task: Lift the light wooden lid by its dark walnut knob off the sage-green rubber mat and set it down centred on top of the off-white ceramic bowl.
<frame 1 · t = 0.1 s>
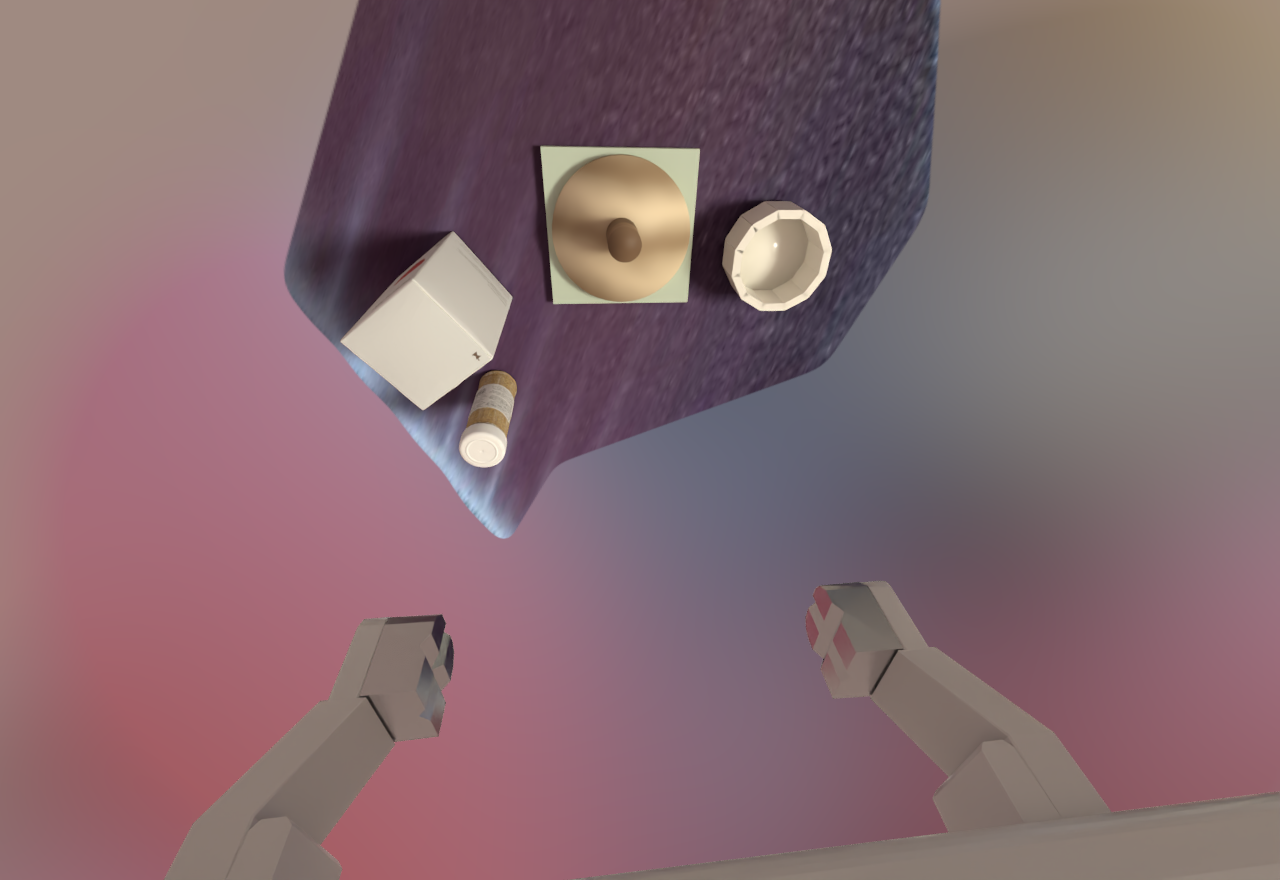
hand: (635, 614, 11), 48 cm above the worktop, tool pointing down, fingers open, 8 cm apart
sprinkles bottle: (498, 384, 61), on the worktop
supplement box: (454, 288, 53), on the worktop
bowl: (766, 249, 54), on the worktop
mat: (620, 230, 51), on the worktop
lid: (621, 232, 51), point 1 cm above the worktop, touching mat
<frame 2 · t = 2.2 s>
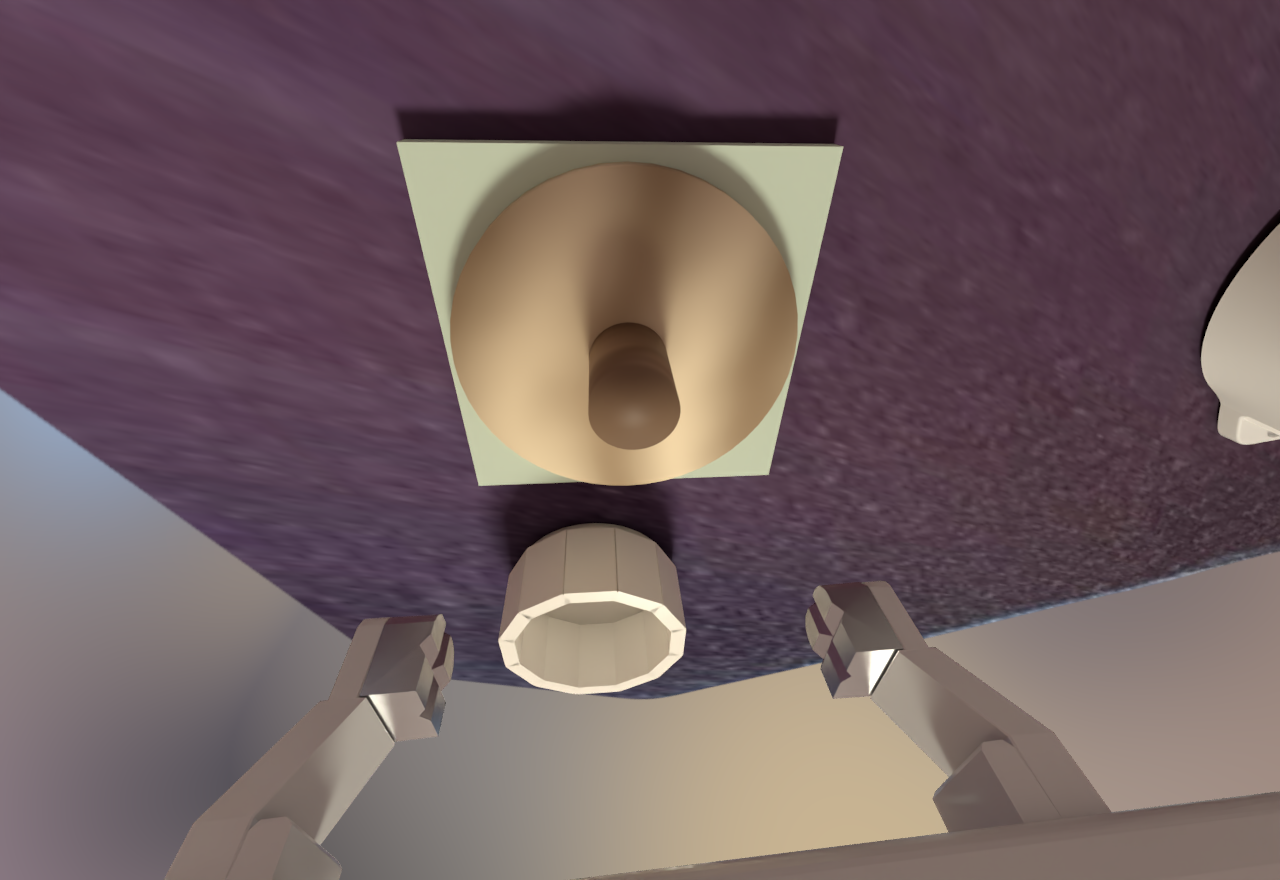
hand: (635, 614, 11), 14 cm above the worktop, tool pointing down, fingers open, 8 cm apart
bowl: (594, 574, 31), on the worktop
mat: (625, 339, 22), on the worktop
lid: (626, 348, 21), point 1 cm above the worktop, touching mat
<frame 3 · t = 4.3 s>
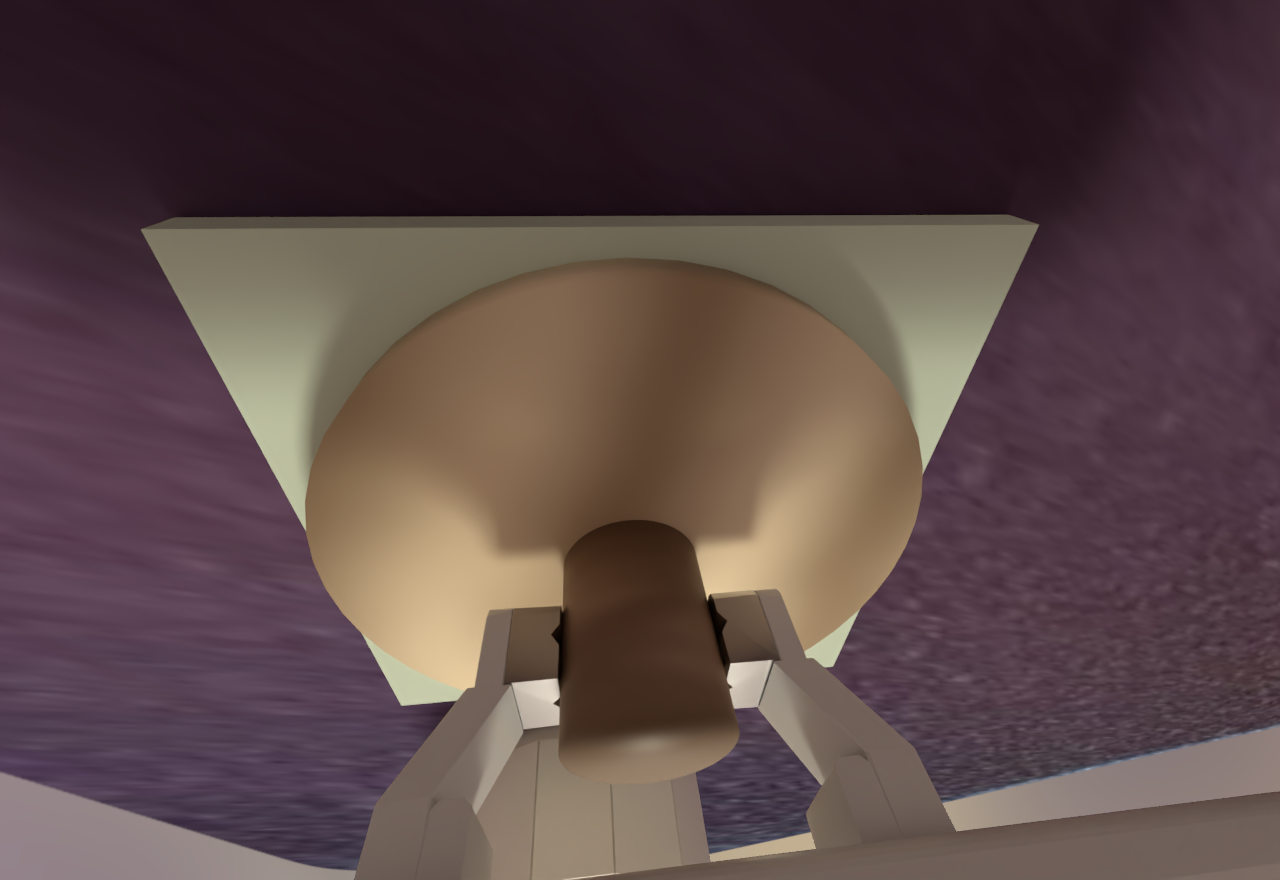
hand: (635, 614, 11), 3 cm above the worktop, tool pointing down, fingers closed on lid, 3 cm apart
bowl: (580, 766, 23), on the worktop
mat: (624, 513, 13), on the worktop
lid: (627, 536, 13), point 1 cm above the worktop, touching gripper, mat
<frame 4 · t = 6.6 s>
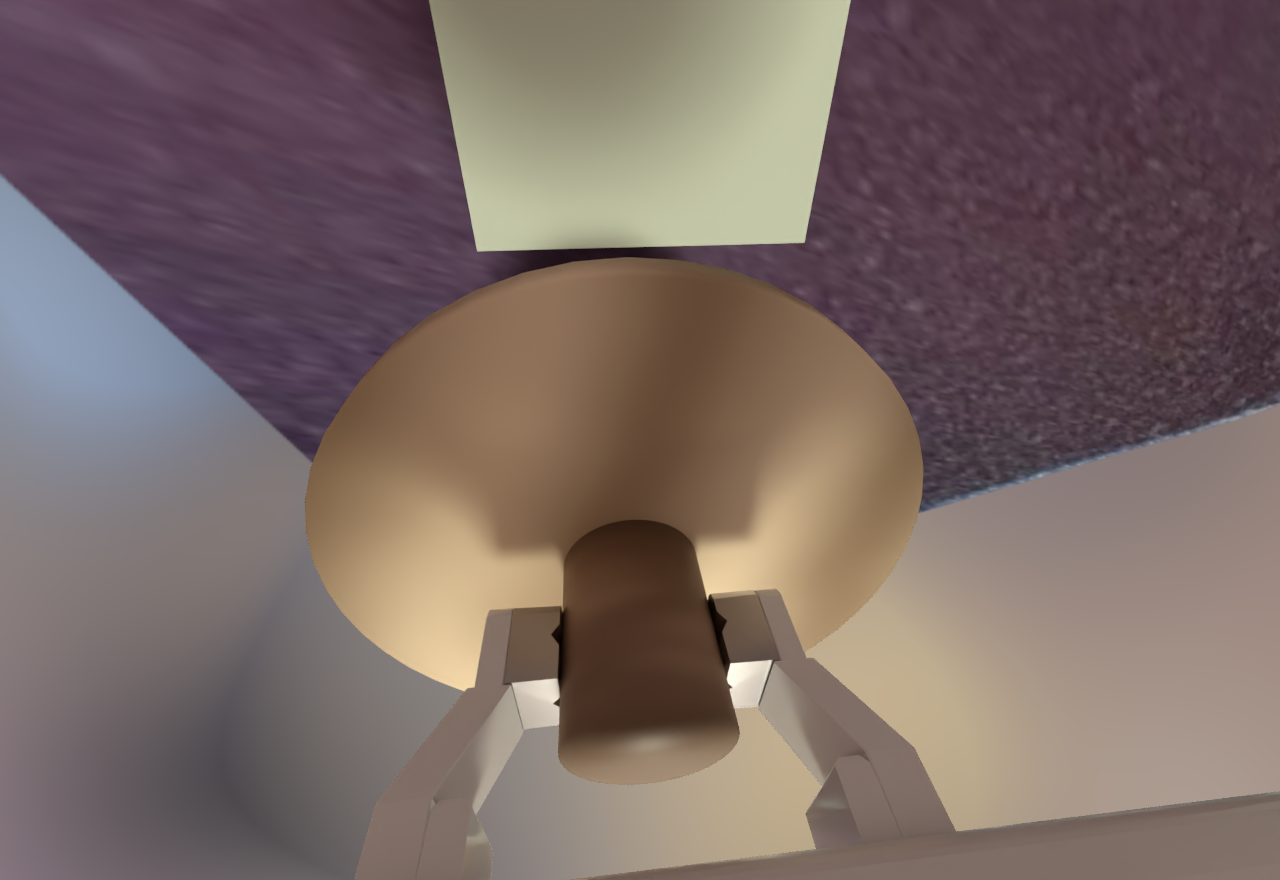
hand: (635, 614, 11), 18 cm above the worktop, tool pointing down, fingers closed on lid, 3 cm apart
mat: (643, 35, 19), on the worktop
lid: (627, 536, 13), point 15 cm above the worktop, touching gripper
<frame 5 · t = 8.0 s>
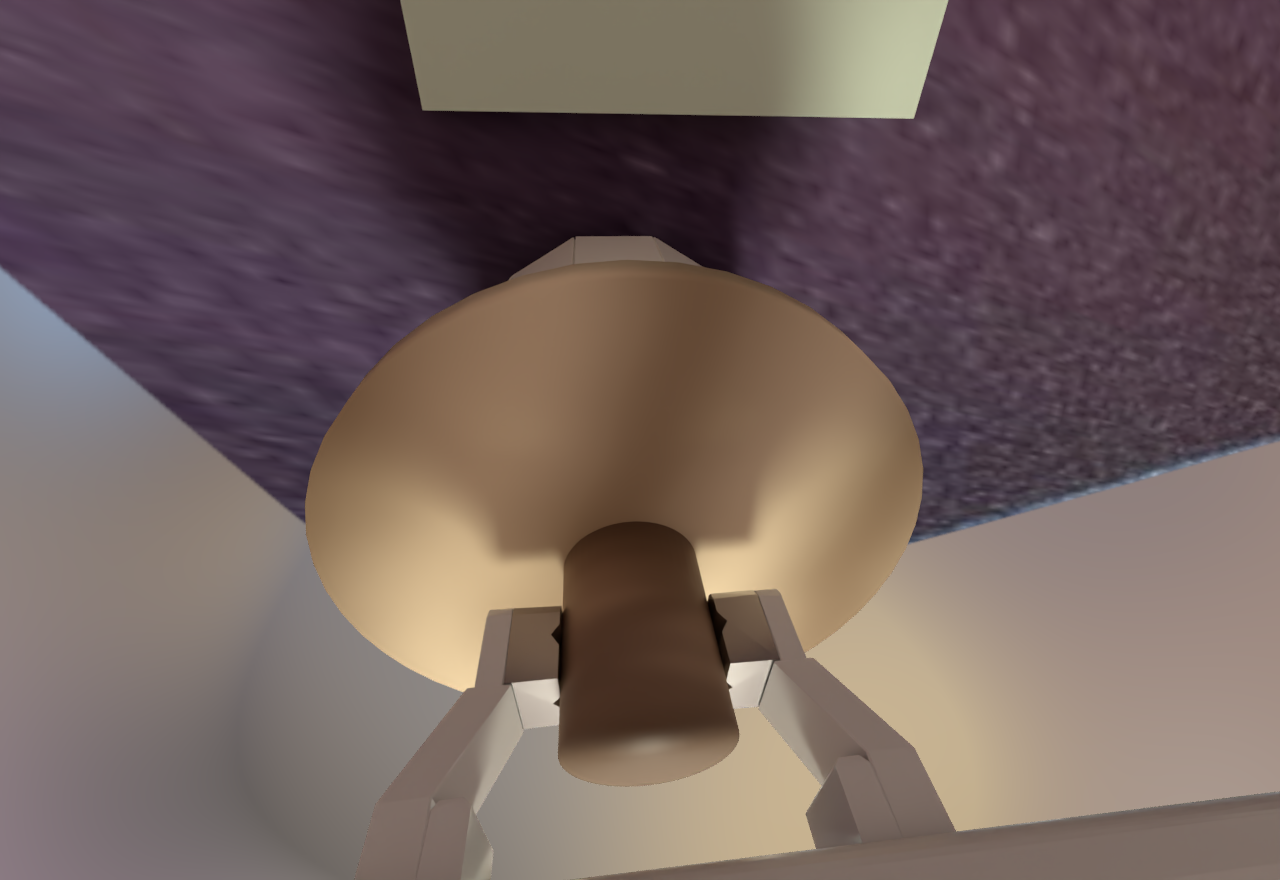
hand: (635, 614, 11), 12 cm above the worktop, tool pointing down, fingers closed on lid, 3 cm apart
bowl: (614, 357, 20), on the worktop
lid: (627, 537, 13), point 10 cm above the worktop, touching gripper
when the fingers open (9 cm above the worktop, at t = 9.2 s): lid drops 1 cm, resting on bowl.
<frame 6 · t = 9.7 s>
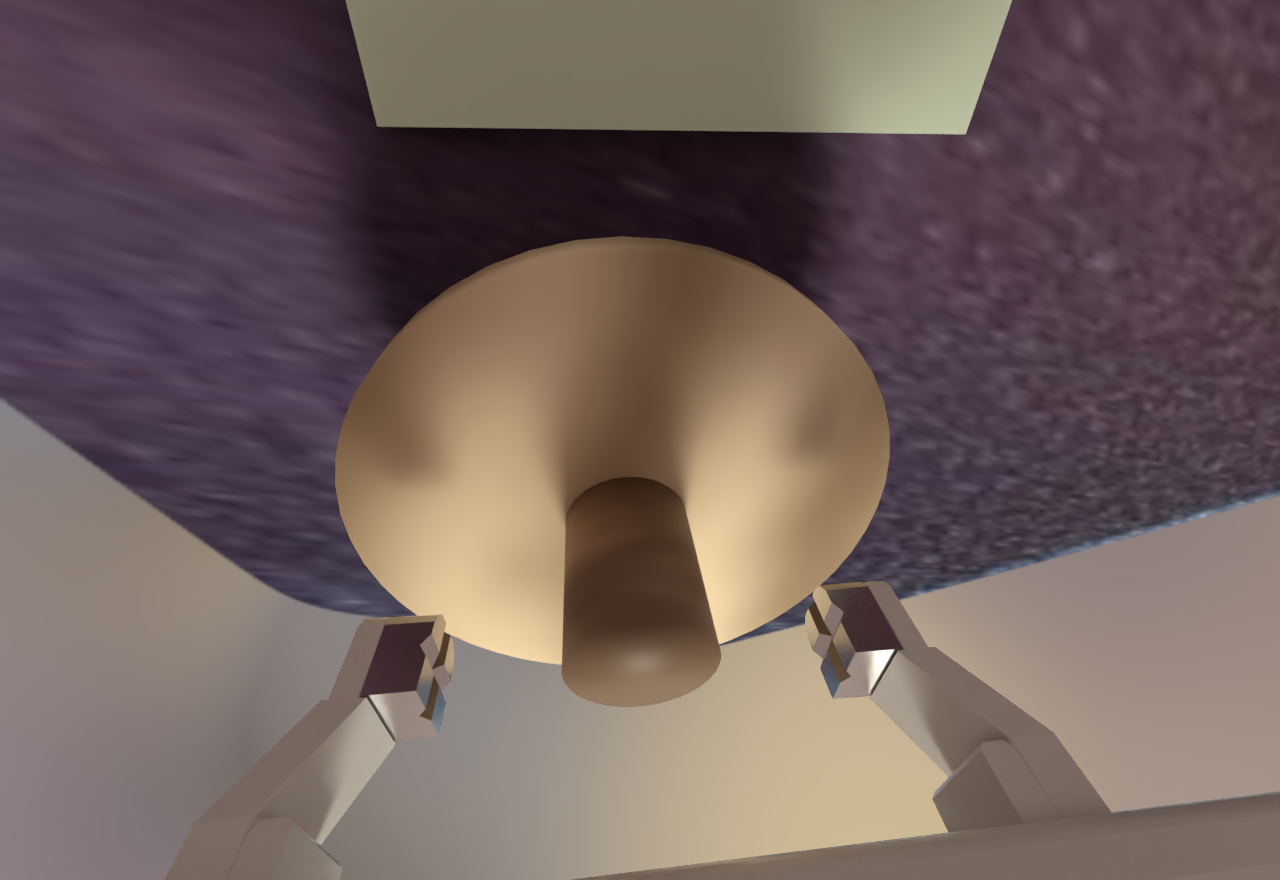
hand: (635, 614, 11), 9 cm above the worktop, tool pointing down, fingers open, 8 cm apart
lid: (623, 497, 14), point 5 cm above the worktop, touching bowl
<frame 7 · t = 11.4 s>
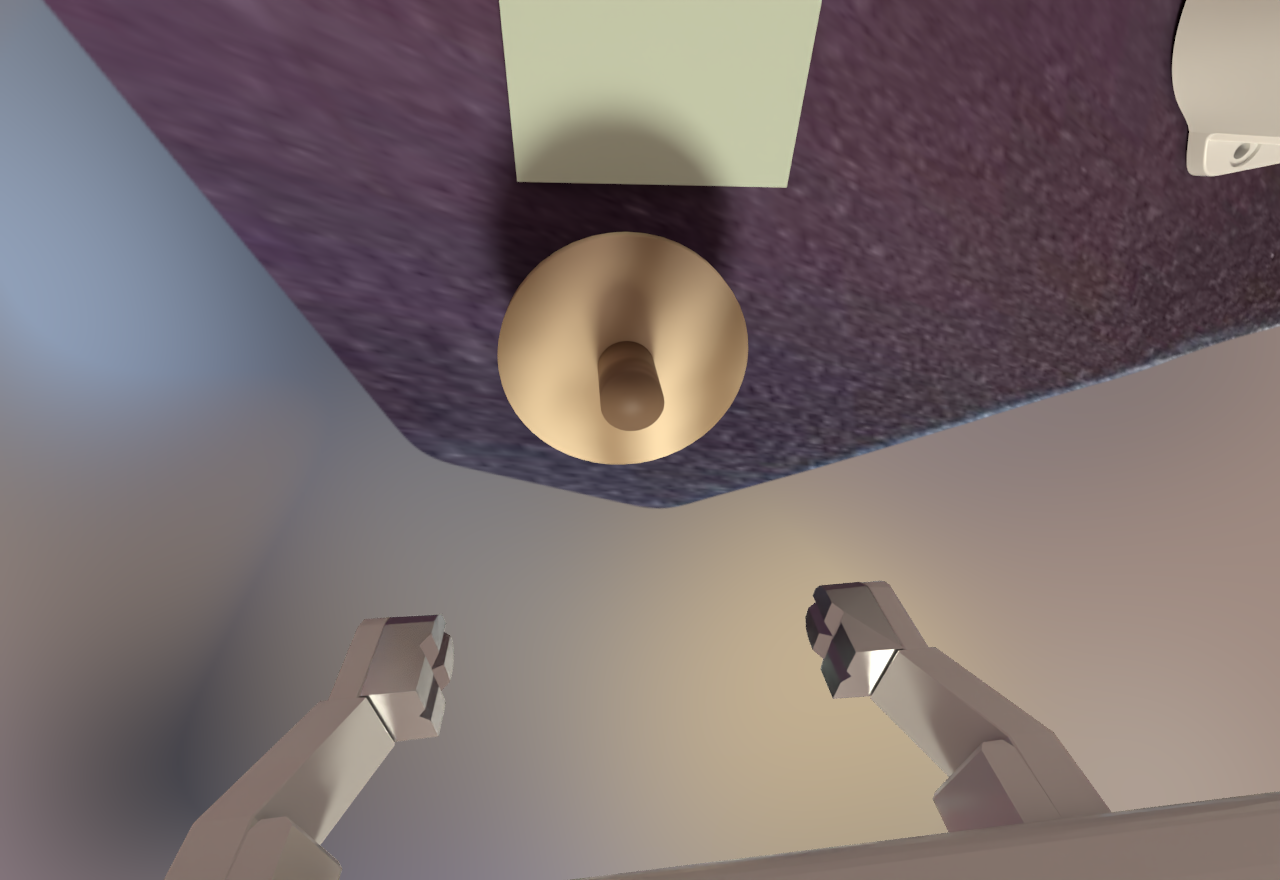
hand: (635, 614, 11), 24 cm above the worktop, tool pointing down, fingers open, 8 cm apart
mat: (662, 6, 23), on the worktop
lid: (624, 359, 29), point 5 cm above the worktop, touching bowl
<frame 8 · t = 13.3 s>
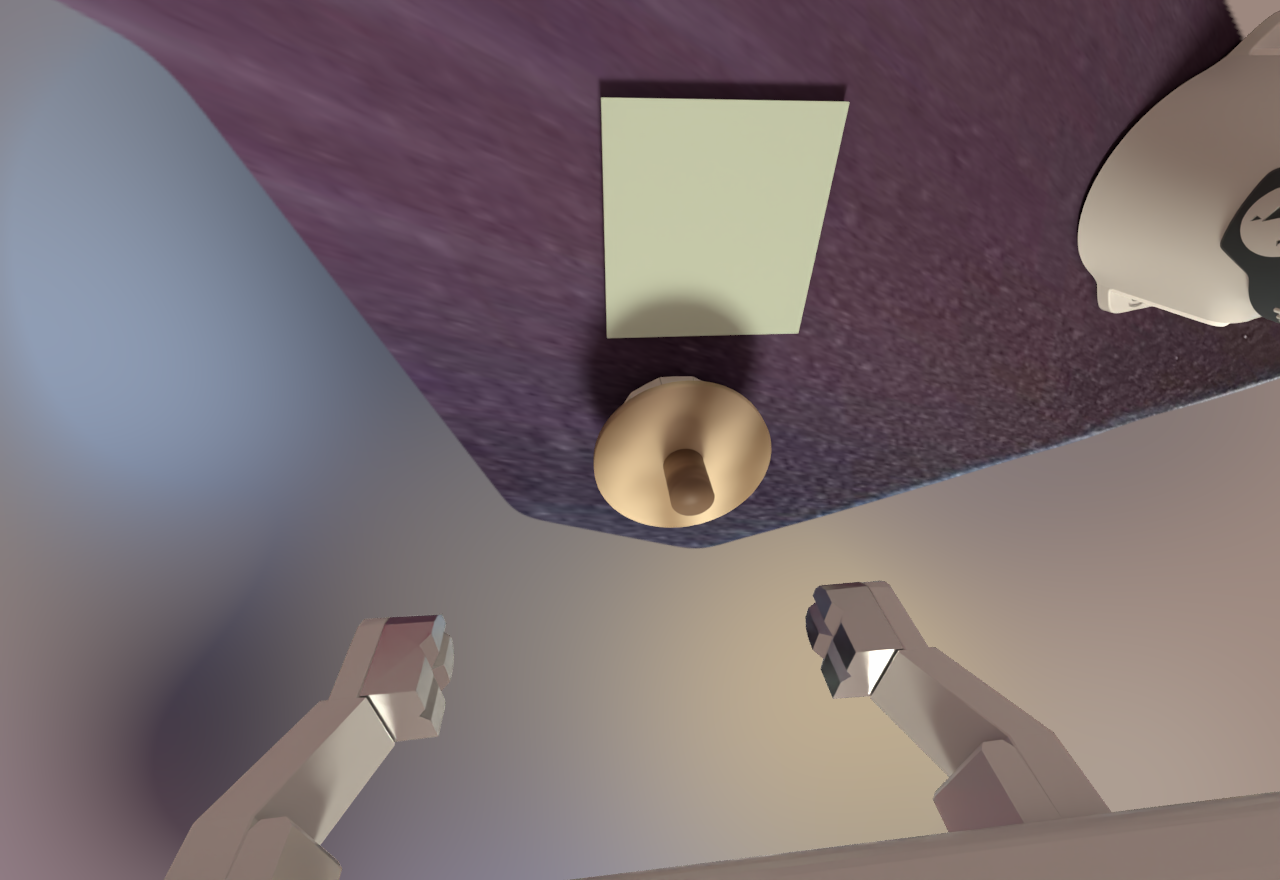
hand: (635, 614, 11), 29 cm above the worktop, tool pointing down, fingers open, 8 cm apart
bowl: (671, 422, 44), on the worktop
mat: (712, 230, 34), on the worktop
lid: (681, 457, 40), point 5 cm above the worktop, touching bowl
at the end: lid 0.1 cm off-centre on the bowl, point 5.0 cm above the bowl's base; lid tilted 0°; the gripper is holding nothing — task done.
